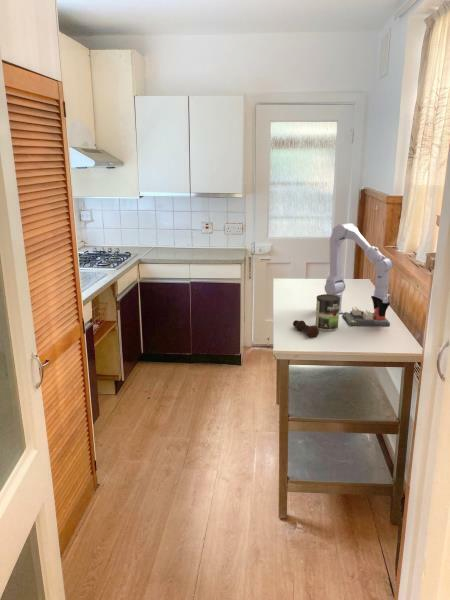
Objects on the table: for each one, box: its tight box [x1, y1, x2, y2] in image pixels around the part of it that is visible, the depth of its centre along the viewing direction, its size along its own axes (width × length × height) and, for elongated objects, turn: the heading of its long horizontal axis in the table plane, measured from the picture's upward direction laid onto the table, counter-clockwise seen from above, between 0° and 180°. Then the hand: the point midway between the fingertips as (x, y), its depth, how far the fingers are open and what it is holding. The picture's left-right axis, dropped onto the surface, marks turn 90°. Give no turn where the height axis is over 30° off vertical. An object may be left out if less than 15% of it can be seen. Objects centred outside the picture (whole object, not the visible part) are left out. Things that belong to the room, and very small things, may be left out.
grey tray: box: [342, 310, 391, 327], centre depth 225 cm, size 18×15×2 cm
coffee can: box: [314, 293, 340, 332], centre depth 215 cm, size 10×10×14 cm
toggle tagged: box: [363, 310, 373, 320], centre depth 222 cm, size 3×5×4 cm, turn 179°
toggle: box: [351, 305, 362, 315], centre depth 228 cm, size 3×5×4 cm, turn 179°
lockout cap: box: [373, 307, 387, 320], centre depth 222 cm, size 4×4×6 cm
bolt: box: [292, 319, 320, 339], centre depth 210 cm, size 6×5×15 cm
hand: (379, 313), depth 222 cm, fingers open, 7 cm apart
